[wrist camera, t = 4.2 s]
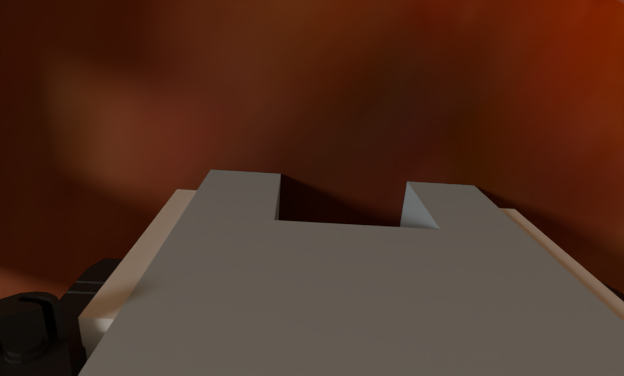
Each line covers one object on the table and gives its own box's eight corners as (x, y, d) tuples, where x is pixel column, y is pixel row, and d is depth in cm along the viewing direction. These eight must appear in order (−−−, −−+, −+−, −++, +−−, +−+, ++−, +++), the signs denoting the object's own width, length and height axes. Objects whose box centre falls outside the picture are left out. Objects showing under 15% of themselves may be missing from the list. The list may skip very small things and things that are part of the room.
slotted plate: (474, 185, 16) (794, 476, 6) (458, 254, 17) (702, 604, 7) (210, 169, 15) (25, 455, 5) (211, 241, 16) (61, 597, 6)
